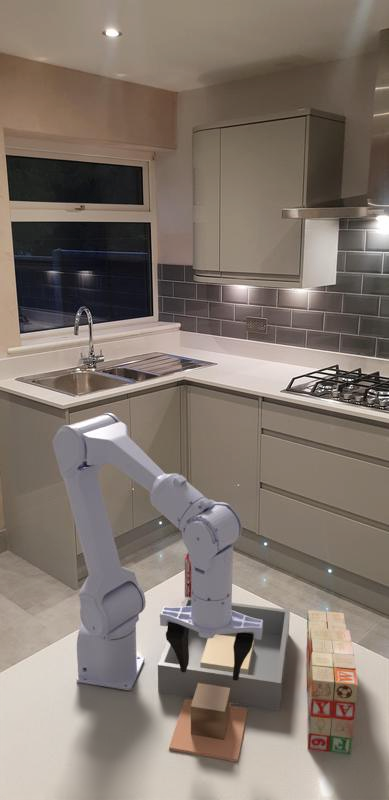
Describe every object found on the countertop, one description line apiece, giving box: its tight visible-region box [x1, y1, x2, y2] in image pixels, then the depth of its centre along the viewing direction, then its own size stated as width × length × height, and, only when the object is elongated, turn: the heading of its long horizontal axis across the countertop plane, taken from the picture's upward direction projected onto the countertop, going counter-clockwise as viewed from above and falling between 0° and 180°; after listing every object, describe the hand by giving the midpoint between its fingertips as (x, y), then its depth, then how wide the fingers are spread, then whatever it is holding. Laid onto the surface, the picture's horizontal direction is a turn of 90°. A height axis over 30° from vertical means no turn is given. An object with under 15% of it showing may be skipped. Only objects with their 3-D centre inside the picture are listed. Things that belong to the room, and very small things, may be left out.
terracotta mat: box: [168, 698, 249, 763], centre depth 96 cm, size 10×10×1 cm
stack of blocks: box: [305, 609, 359, 755], centre depth 101 cm, size 21×6×12 cm, turn 172°
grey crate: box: [157, 596, 291, 711], centre depth 111 cm, size 20×20×6 cm
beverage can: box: [184, 551, 191, 598], centre depth 126 cm, size 6×6×12 cm
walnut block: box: [191, 683, 231, 740], centre depth 96 cm, size 5×5×5 cm
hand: (210, 671), depth 94 cm, fingers open, 7 cm apart
